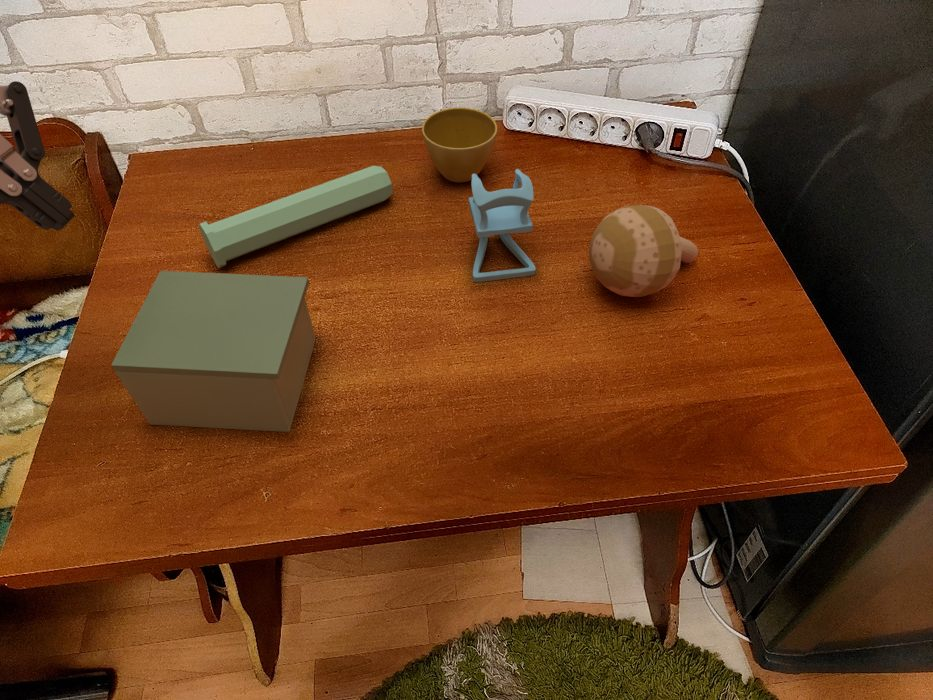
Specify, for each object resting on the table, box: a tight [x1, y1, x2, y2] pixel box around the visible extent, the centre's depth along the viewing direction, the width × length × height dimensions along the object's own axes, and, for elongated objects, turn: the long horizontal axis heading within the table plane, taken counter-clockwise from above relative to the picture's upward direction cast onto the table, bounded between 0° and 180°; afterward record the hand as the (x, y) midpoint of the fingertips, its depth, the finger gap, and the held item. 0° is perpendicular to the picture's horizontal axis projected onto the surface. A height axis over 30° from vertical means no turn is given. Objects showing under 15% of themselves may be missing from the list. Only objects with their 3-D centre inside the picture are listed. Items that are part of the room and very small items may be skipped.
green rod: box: [198, 165, 393, 269], centre depth 88 cm, size 6×6×25 cm
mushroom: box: [588, 204, 699, 298], centre depth 80 cm, size 10×11×15 cm
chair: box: [468, 168, 537, 283], centre depth 81 cm, size 8×8×12 cm
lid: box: [110, 270, 310, 379], centre depth 66 cm, size 16×13×1 cm
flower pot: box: [421, 107, 498, 184], centre depth 94 cm, size 10×10×7 cm
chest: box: [114, 297, 317, 433], centre depth 70 cm, size 15×13×9 cm
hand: (66, 222), depth 56 cm, fingers closed
